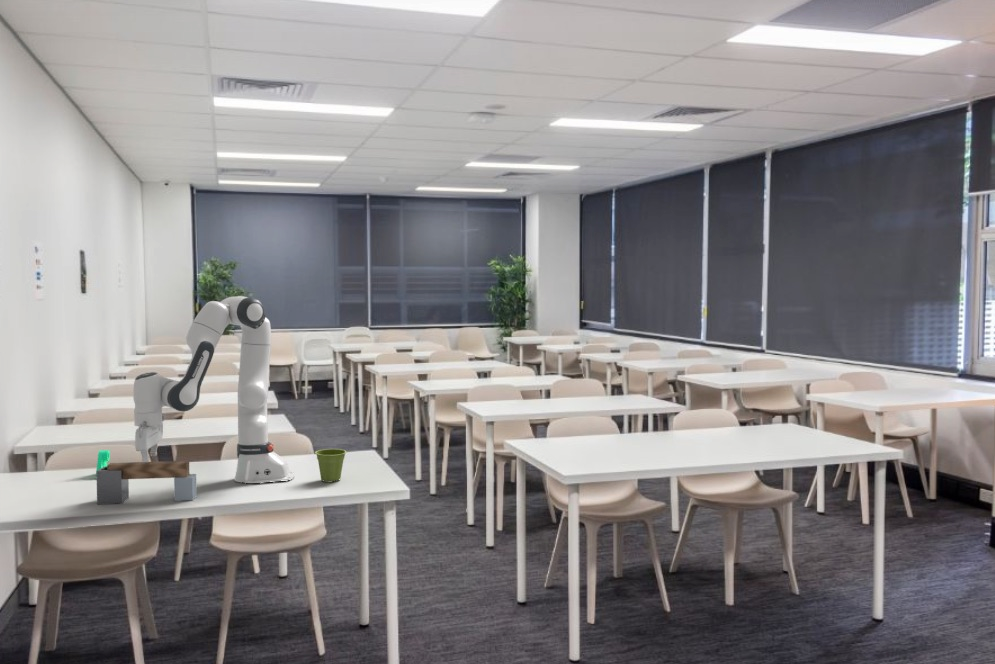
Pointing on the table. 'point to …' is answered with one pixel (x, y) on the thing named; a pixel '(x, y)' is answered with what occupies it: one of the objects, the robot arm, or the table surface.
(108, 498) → the cup bracket
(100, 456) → the camera mount
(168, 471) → the rail
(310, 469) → the table surface
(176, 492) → the block
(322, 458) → the plant pot
